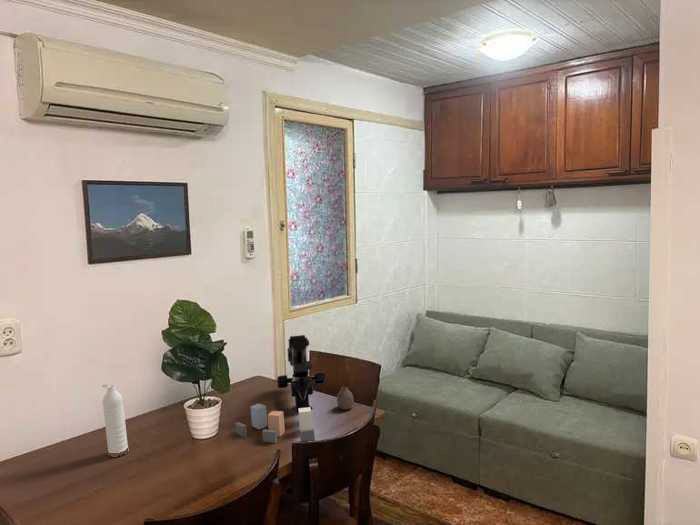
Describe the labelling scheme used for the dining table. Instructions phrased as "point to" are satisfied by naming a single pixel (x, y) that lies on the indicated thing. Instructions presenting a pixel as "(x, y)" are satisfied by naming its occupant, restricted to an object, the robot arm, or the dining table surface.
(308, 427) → the cream rectangular block
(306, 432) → the block
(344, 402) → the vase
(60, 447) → the dining table surface
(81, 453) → the dining table surface
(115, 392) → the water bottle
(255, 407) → the gray rectangular block
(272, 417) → the salmon rectangular block
